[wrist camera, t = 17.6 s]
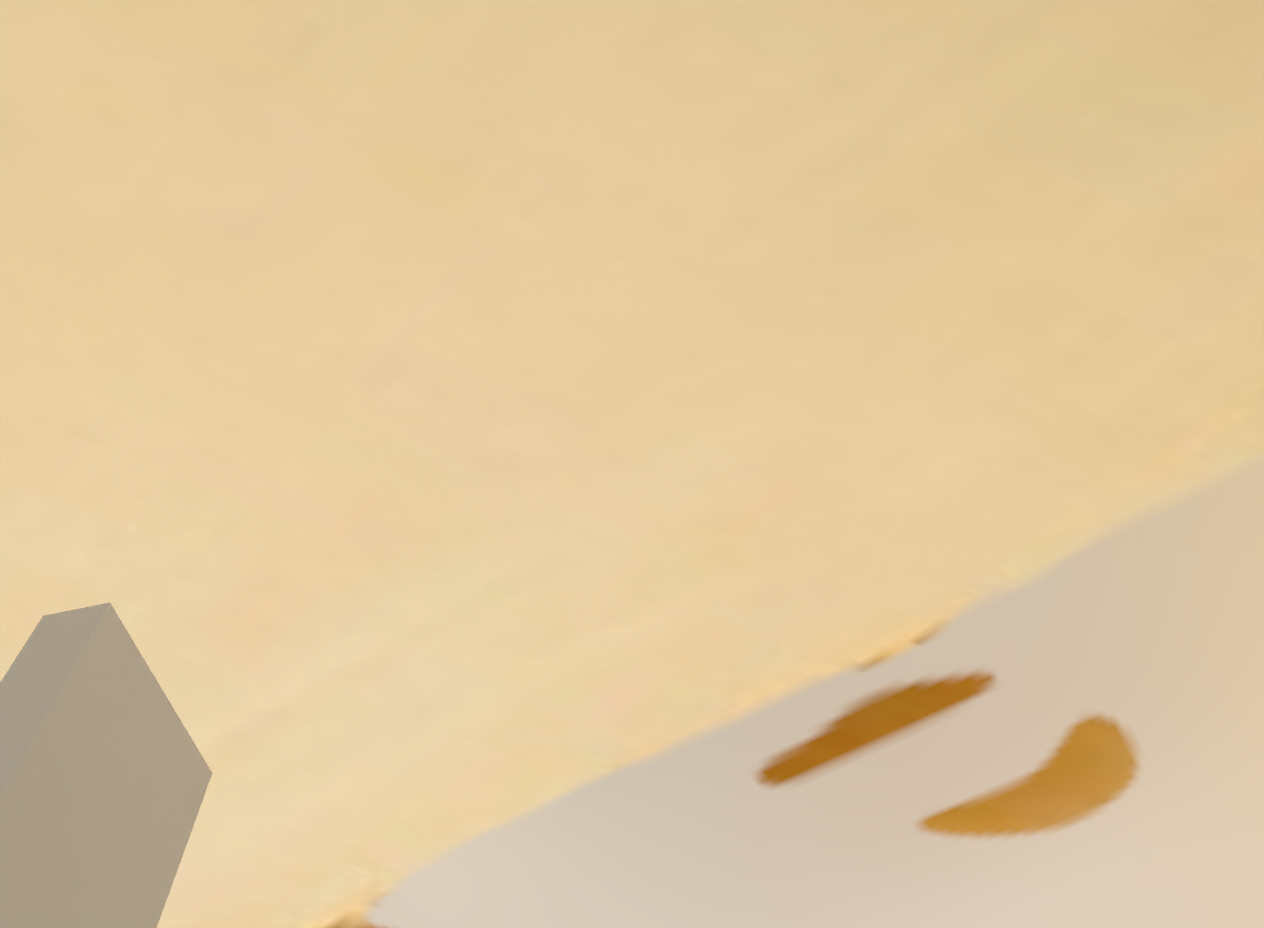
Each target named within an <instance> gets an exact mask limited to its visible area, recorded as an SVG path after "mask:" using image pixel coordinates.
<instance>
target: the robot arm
mask: <svg viewBox="0 0 1264 928" xmlns="http://www.w3.org/2000/svg"><path fill="white" fill-rule="evenodd" d="M211 775H212V772H211V770H210V769H209V767H208V765H207V764H206V762H205V760H204V759H203V757H202V755H201V754H200V752H199V750H198V749H197V747H196V745H195V744H194V742H193V740H192V739H191V737H190V735H189V734H188V732H187V730H186V729H185V727H184V725H183V724H182V722H181V720H180V719H179V717H178V715H177V714H176V712H175V710H174V709H173V707H172V705H171V704H170V702H169V700H168V699H167V697H166V695H165V694H164V692H163V690H162V689H161V687H160V685H159V684H158V682H157V680H156V679H155V677H154V675H153V674H152V672H151V670H150V669H149V667H148V665H147V664H146V662H145V660H144V659H143V657H142V655H141V654H140V652H139V650H138V649H137V647H136V645H135V644H134V642H133V640H132V639H131V637H130V635H129V634H128V632H127V630H126V629H125V627H124V625H123V624H122V622H121V620H120V618H119V617H118V615H117V613H116V612H115V610H114V608H113V607H112V605H111V603H106V604H101V605H96V606H91V607H86V608H81V609H76V610H71V611H66V612H60V613H55V614H50V615H45V616H43V617H42V619H41V620H40V622H39V623H38V625H37V626H36V628H35V629H34V631H33V633H32V634H31V636H30V637H29V639H28V640H27V642H26V643H25V645H24V647H23V648H22V650H21V651H20V653H19V654H18V656H17V657H16V659H15V661H14V662H13V664H12V665H11V667H10V668H9V670H8V671H7V673H6V675H5V676H4V678H3V679H2V681H1V682H0V928H156V927H157V925H158V922H159V919H160V916H161V914H162V911H163V908H164V905H165V902H166V900H167V897H168V894H169V891H170V889H171V886H172V883H173V880H174V878H175V875H176V872H177V869H178V866H179V864H180V861H181V858H182V855H183V853H184V850H185V847H186V844H187V842H188V839H189V836H190V833H191V830H192V828H193V825H194V822H195V819H196V817H197V814H198V811H199V808H200V805H201V803H202V800H203V797H204V794H205V792H206V789H207V786H208V783H209V781H210V778H211Z"/></svg>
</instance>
